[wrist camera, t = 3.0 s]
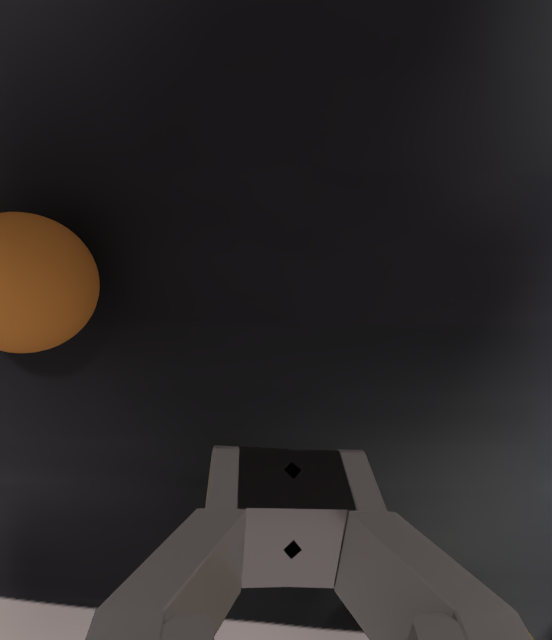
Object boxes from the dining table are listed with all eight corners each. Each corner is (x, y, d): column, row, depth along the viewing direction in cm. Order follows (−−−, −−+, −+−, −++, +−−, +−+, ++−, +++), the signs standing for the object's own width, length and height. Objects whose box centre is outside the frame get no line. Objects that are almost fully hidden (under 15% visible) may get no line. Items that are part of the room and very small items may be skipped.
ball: (-22, 197, 17) (-126, 221, 12) (111, 206, 17) (60, 234, 12) (0, 316, 19) (-81, 376, 14) (119, 322, 19) (77, 383, 14)
